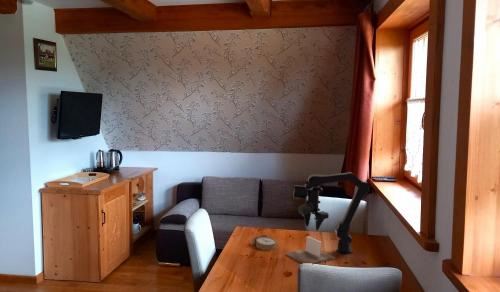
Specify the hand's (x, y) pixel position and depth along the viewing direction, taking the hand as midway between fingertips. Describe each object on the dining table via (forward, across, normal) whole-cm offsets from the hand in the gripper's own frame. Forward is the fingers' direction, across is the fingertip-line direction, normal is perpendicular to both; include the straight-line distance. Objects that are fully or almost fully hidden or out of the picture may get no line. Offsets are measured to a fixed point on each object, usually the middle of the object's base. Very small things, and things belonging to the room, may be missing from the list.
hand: (312, 228), depth 203 cm
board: (+12, +7, -7) cm, 16 cm away
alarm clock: (+12, -18, -18) cm, 28 cm away
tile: (+7, +7, -4) cm, 10 cm away
